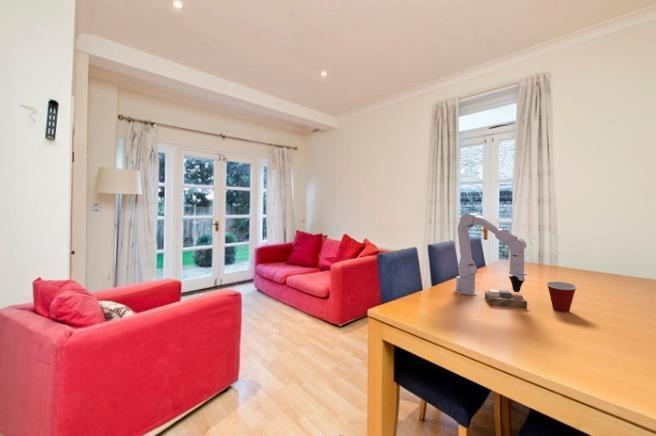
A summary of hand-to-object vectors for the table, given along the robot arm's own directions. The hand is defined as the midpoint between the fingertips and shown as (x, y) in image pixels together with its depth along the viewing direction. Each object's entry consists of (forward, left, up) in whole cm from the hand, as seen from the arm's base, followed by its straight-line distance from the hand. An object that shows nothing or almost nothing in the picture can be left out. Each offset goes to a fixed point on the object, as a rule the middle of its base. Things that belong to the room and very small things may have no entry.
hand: (516, 291), depth 132 cm
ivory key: (-10, 0, -3) cm, 10 cm away
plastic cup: (+17, -3, -6) cm, 18 cm away
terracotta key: (0, 0, -4) cm, 4 cm away
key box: (-5, 0, -6) cm, 8 cm away
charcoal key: (-5, 0, -4) cm, 6 cm away
